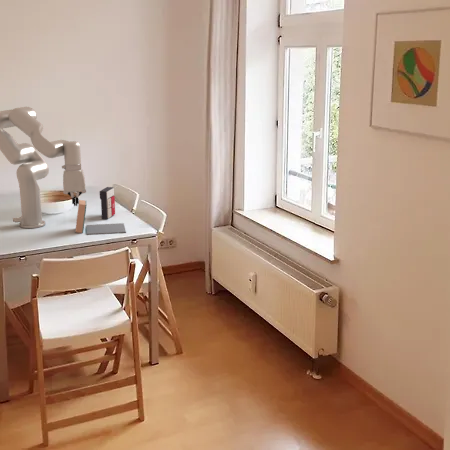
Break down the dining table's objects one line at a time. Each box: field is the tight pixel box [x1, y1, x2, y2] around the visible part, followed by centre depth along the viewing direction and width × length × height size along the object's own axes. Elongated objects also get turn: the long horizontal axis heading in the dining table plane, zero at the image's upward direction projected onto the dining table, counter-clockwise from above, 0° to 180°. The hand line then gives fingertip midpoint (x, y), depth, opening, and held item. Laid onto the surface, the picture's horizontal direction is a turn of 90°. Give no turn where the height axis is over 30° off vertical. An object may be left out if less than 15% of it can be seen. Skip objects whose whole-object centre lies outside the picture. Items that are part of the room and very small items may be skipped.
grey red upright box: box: [99, 186, 116, 220], centre depth 340 cm, size 11×4×15 cm, turn 168°
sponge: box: [75, 199, 88, 234], centre depth 315 cm, size 4×9×14 cm, turn 13°
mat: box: [86, 222, 127, 236], centre depth 319 cm, size 18×16×1 cm
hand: (75, 205), depth 313 cm, fingers closed
